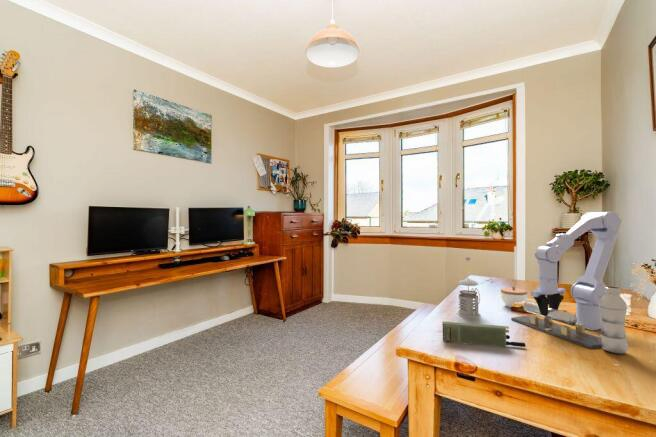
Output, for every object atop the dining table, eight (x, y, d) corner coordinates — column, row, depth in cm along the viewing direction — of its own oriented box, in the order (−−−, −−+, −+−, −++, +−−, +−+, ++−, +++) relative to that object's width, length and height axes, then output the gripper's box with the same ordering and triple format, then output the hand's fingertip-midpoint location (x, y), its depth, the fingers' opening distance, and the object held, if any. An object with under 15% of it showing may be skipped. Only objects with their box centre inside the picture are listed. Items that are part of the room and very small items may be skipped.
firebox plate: (530, 317, 133) (530, 307, 133) (612, 345, 104) (612, 332, 104) (511, 320, 130) (511, 310, 130) (590, 349, 101) (590, 336, 101)
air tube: (523, 311, 128) (523, 301, 128) (531, 311, 129) (531, 301, 129) (568, 326, 110) (568, 314, 110) (577, 325, 112) (577, 313, 112)
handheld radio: (442, 339, 112) (523, 346, 104) (443, 343, 109) (526, 351, 101) (442, 320, 112) (523, 326, 104) (442, 323, 108) (526, 330, 101)
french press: (472, 310, 144) (471, 255, 144) (489, 318, 132) (488, 258, 132) (452, 311, 142) (451, 255, 142) (467, 320, 131) (466, 259, 131)
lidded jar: (518, 303, 154) (517, 283, 154) (532, 309, 144) (532, 288, 144) (496, 303, 154) (496, 284, 154) (509, 310, 143) (509, 289, 143)
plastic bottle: (631, 358, 94) (630, 290, 94) (601, 353, 98) (600, 288, 98) (625, 350, 100) (624, 286, 100) (597, 345, 103) (596, 284, 103)
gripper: (552, 275, 125) (553, 309, 125) (523, 277, 121) (524, 313, 121) (570, 278, 119) (571, 314, 119) (540, 280, 115) (541, 318, 115)
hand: (548, 314), depth 120 cm, fingers closed on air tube, 4 cm apart
